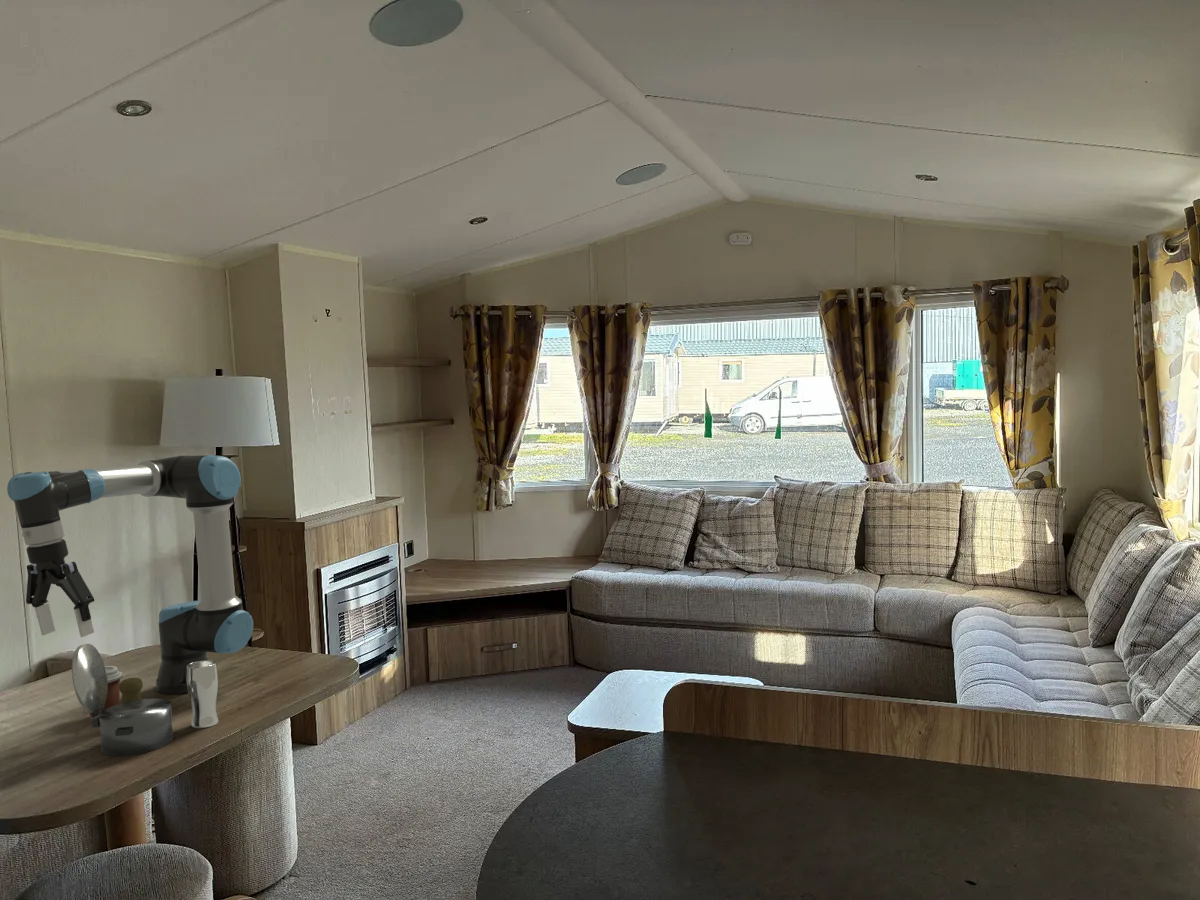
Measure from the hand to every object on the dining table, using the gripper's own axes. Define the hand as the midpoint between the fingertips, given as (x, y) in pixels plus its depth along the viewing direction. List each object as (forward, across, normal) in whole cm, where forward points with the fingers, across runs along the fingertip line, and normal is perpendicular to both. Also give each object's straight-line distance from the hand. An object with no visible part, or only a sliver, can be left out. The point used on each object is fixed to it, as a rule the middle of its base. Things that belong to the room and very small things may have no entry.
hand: (67, 634), depth 201 cm
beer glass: (+32, +9, +22) cm, 40 cm away
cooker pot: (+30, +4, +7) cm, 31 cm away
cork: (+30, -9, +16) cm, 36 cm away
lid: (+13, -2, +4) cm, 13 cm away
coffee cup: (+30, -20, +17) cm, 40 cm away
